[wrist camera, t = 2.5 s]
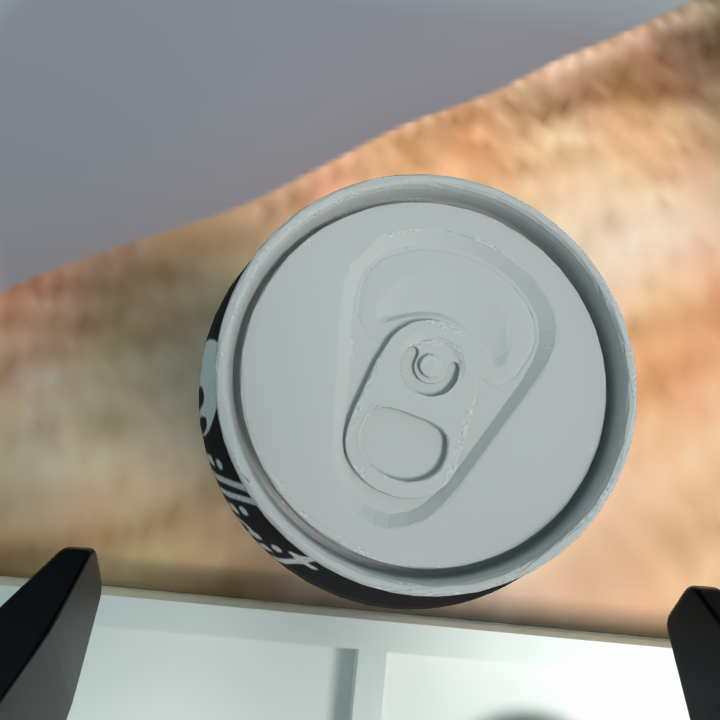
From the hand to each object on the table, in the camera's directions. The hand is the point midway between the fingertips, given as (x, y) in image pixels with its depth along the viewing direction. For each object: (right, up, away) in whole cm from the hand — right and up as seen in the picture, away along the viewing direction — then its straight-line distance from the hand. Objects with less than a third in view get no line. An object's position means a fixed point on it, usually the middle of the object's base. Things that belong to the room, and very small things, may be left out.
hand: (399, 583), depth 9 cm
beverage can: (-1, +1, +11) cm, 11 cm away
